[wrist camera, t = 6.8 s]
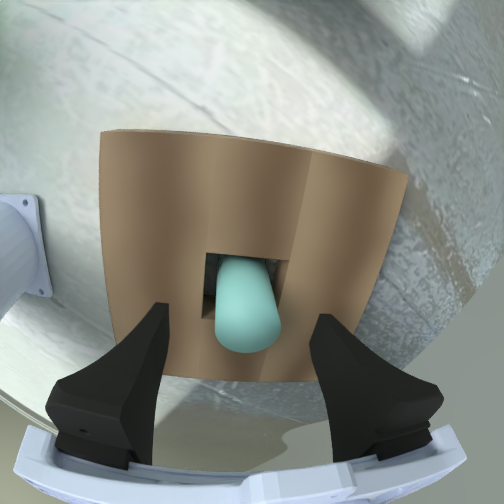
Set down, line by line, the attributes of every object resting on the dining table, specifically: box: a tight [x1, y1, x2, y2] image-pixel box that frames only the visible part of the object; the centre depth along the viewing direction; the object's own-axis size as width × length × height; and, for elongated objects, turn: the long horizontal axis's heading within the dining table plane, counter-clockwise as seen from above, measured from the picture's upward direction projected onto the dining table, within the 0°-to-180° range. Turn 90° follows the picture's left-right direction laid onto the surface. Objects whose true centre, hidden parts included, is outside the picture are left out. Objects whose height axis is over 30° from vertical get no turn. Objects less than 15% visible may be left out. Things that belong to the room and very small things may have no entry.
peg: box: [215, 254, 281, 353], centre depth 15 cm, size 3×3×6 cm
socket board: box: [99, 129, 409, 382], centre depth 17 cm, size 16×16×2 cm
